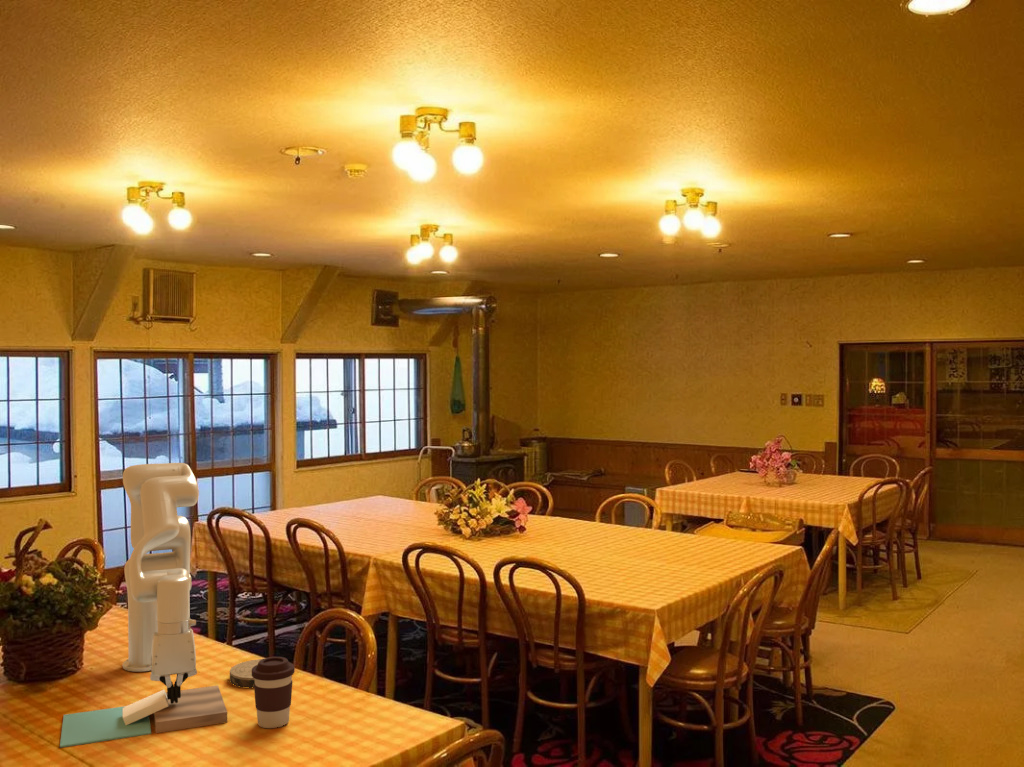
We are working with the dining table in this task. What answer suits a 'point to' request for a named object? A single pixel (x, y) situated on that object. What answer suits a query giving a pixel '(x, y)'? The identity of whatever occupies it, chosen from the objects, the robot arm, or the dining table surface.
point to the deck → (192, 710)
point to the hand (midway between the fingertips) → (173, 701)
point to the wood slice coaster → (243, 674)
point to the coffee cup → (273, 691)
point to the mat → (100, 727)
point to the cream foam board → (145, 707)
